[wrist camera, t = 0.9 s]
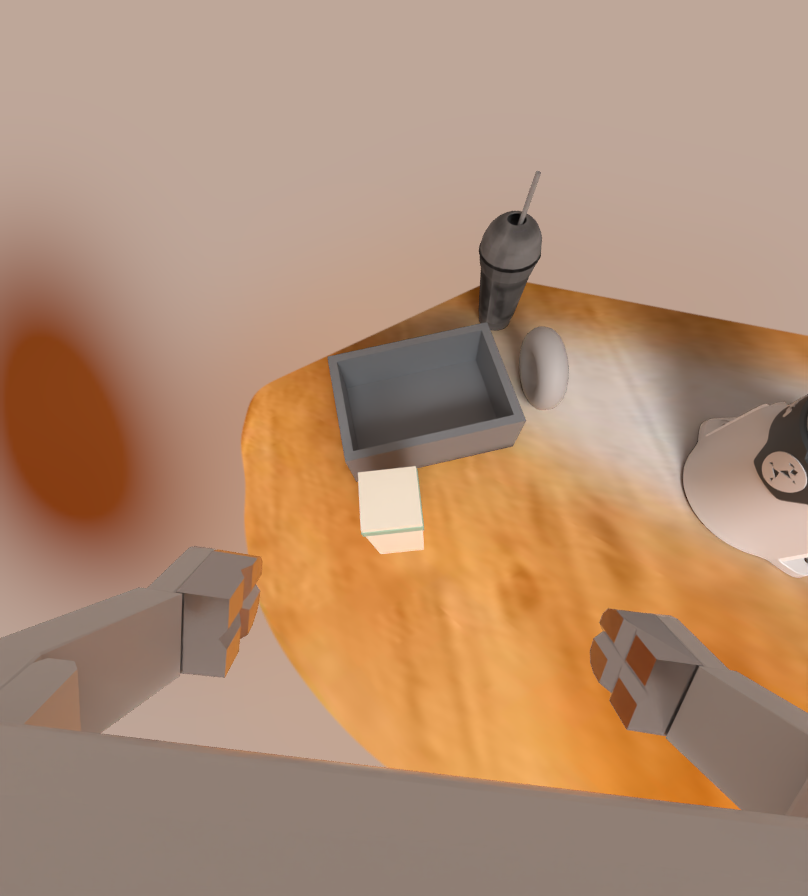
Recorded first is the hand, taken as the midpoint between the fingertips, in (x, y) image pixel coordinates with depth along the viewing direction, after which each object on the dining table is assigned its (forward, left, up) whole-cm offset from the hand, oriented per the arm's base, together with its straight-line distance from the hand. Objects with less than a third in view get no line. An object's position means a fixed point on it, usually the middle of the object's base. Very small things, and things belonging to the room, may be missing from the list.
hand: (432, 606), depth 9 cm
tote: (-5, -23, -35) cm, 42 cm away
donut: (-20, -23, -35) cm, 47 cm away
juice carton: (+1, -9, -35) cm, 36 cm away
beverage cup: (-19, -36, -35) cm, 54 cm away
